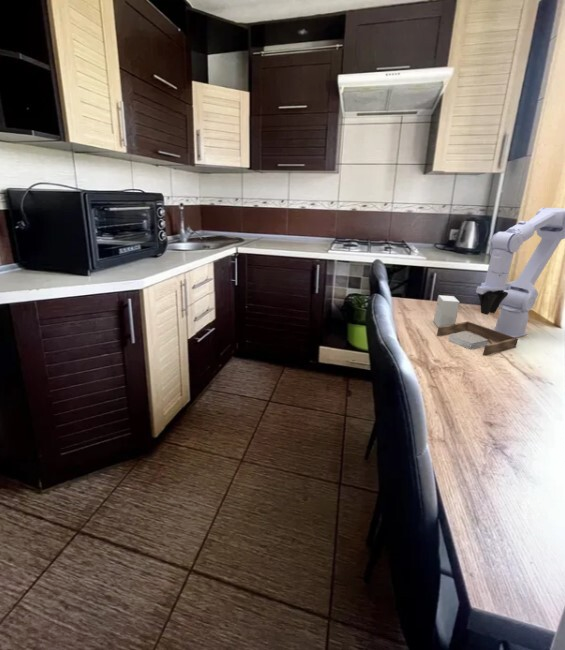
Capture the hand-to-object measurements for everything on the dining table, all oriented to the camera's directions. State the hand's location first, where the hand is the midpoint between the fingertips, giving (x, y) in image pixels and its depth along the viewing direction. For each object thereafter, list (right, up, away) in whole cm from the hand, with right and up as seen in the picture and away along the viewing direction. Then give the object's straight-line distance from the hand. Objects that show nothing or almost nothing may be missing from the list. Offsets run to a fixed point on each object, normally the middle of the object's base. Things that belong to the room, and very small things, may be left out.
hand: (487, 313), depth 112 cm
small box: (-7, -4, +16) cm, 18 cm away
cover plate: (-6, -10, 0) cm, 12 cm away
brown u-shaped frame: (-4, -9, +2) cm, 10 cm away
